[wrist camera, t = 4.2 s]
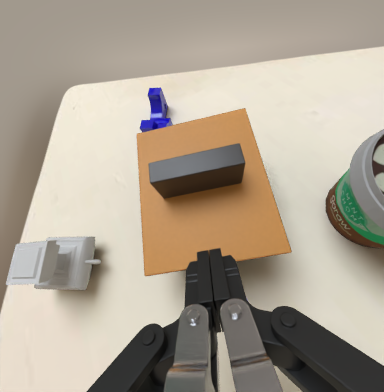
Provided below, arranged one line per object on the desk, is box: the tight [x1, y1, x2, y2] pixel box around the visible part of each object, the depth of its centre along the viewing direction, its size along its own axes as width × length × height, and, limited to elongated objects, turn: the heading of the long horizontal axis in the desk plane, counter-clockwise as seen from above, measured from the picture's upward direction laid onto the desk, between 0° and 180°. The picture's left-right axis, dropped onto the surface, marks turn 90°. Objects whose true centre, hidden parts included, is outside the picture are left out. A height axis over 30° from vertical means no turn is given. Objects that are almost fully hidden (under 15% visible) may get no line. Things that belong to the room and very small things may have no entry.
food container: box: [326, 129, 384, 248], centre depth 20 cm, size 12×6×10 cm, turn 22°
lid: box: [137, 108, 291, 276], centre depth 19 cm, size 16×13×5 cm
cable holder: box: [140, 88, 172, 133], centre depth 33 cm, size 8×4×4 cm, turn 173°
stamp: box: [6, 237, 101, 290], centre depth 25 cm, size 9×7×8 cm
